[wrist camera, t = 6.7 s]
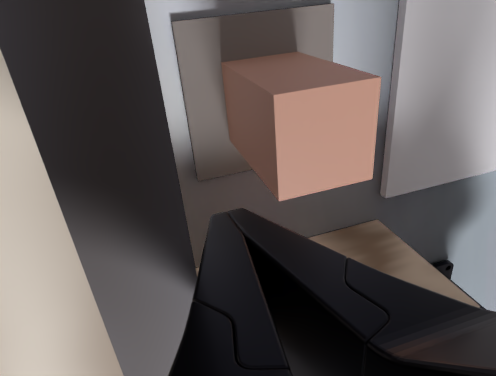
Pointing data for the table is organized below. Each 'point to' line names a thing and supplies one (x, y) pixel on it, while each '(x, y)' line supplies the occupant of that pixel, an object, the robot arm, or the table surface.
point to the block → (302, 121)
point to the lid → (87, 195)
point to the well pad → (230, 49)
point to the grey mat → (441, 95)
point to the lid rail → (389, 257)
